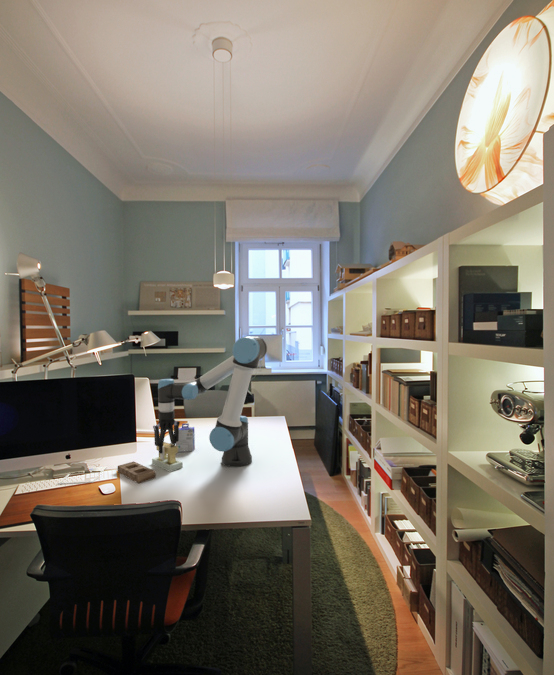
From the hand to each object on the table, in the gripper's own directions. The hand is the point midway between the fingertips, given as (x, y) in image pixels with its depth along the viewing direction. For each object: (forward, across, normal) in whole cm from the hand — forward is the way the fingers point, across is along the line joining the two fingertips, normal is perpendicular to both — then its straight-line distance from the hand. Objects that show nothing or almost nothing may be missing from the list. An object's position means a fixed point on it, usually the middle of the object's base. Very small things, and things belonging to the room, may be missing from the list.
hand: (167, 458), depth 181 cm
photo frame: (+4, +32, -18) cm, 37 cm away
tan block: (+4, 0, 0) cm, 4 cm away
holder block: (+4, 0, 0) cm, 4 cm away
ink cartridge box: (+4, -20, -14) cm, 25 cm away
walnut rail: (+4, +16, 0) cm, 16 cm away
